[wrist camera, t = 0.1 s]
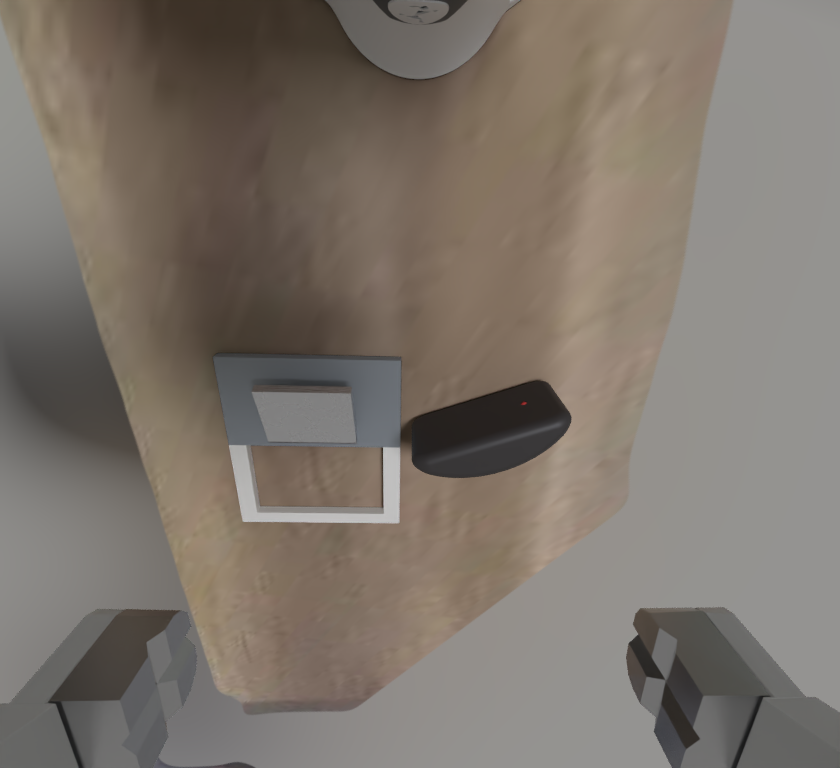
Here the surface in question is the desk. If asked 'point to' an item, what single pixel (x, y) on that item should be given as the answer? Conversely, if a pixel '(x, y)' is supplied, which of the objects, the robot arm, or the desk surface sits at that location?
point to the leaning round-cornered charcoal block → (489, 432)
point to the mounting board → (375, 428)
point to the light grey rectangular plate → (306, 413)
